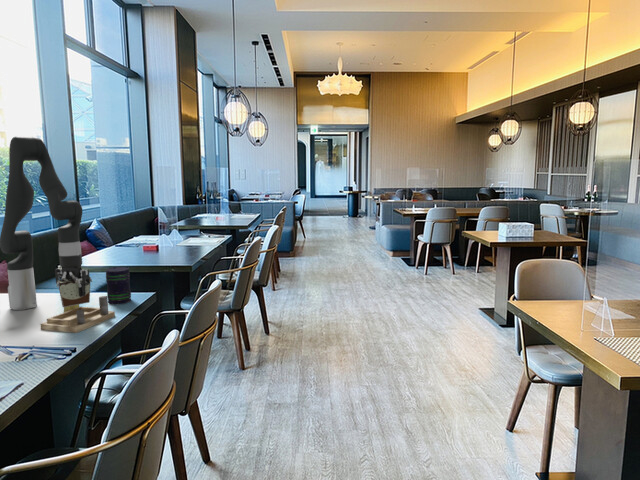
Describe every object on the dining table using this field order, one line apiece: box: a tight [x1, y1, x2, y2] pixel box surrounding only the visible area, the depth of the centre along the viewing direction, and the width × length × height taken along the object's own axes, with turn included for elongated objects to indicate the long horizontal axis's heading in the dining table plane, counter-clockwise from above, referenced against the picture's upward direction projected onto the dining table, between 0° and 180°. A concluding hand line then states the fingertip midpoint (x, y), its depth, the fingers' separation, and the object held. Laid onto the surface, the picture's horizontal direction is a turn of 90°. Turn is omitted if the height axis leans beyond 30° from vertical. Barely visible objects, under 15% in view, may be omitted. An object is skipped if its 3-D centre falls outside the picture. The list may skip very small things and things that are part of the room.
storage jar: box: [105, 266, 132, 305], centre depth 203 cm, size 10×10×15 cm
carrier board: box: [39, 295, 116, 334], centre depth 174 cm, size 16×20×9 cm
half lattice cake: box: [56, 276, 93, 308], centre depth 174 cm, size 12×6×10 cm, turn 136°
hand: (73, 295), depth 174 cm, fingers closed on half lattice cake, 7 cm apart
